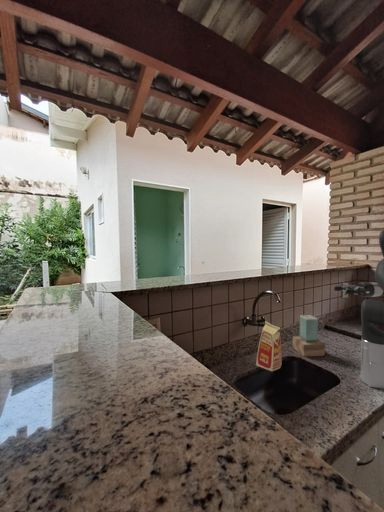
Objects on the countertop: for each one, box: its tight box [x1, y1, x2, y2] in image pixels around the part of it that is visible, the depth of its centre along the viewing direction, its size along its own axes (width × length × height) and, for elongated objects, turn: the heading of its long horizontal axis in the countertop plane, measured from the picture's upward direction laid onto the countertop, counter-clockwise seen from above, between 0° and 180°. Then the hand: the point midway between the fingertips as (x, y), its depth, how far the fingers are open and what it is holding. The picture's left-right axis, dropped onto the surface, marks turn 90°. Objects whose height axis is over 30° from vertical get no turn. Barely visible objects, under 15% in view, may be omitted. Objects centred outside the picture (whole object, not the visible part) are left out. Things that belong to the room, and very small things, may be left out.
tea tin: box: [299, 314, 319, 342], centre depth 123 cm, size 6×6×12 cm
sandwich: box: [292, 335, 326, 357], centre depth 123 cm, size 11×11×6 cm
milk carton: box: [255, 321, 283, 372], centre depth 109 cm, size 9×9×20 cm
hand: (340, 290), depth 123 cm, fingers open, 8 cm apart
